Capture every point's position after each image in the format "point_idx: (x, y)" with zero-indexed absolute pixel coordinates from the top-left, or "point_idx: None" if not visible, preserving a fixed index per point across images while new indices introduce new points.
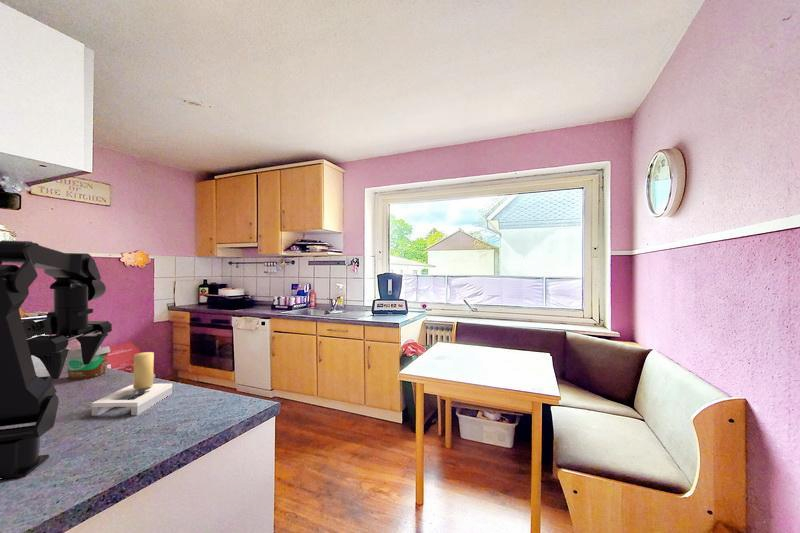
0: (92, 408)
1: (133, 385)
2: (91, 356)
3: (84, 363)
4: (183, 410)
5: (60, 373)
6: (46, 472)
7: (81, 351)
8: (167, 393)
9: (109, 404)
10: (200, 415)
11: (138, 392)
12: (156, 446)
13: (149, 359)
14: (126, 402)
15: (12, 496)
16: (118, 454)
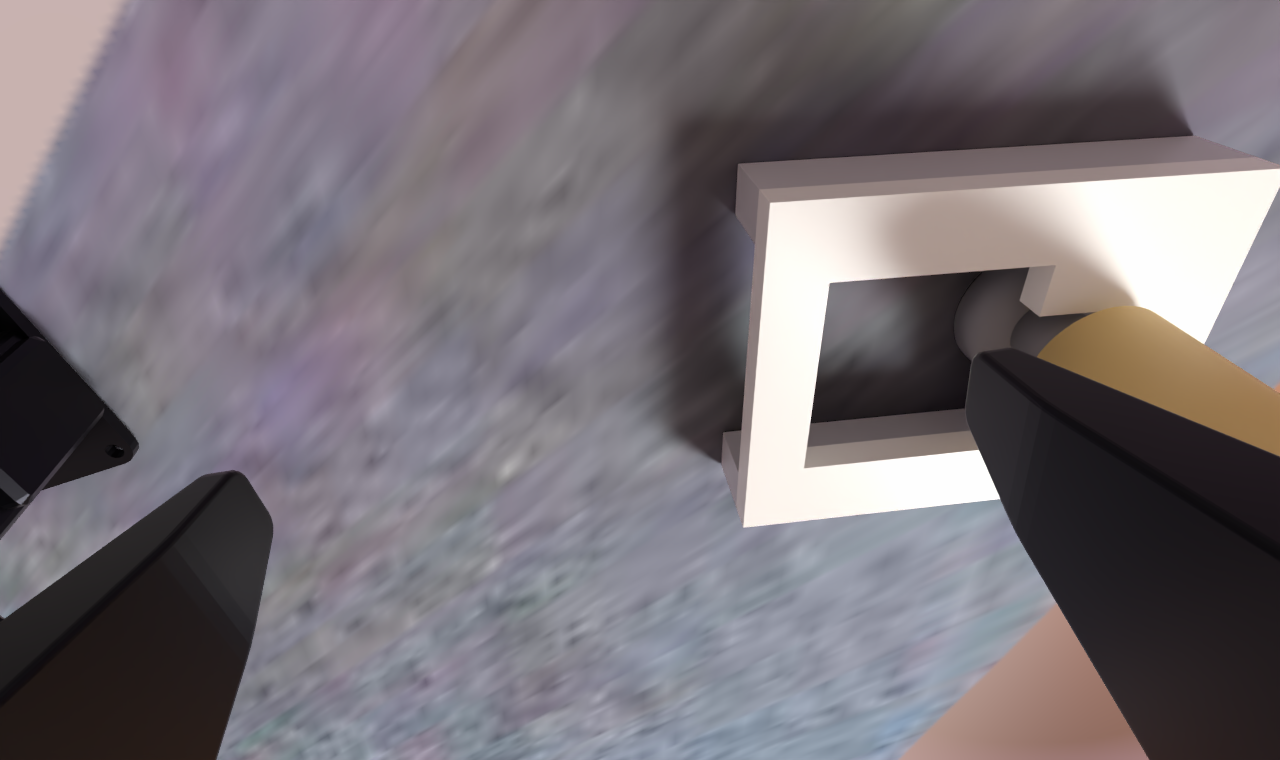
0: (753, 193)
1: (1076, 342)
2: (1043, 575)
3: (978, 377)
4: (769, 627)
5: (242, 624)
6: (42, 550)
7: (1213, 505)
8: None
9: (753, 343)
10: (696, 714)
11: (1038, 332)
12: (381, 742)
13: None
14: (752, 461)
15: None
16: (283, 677)
